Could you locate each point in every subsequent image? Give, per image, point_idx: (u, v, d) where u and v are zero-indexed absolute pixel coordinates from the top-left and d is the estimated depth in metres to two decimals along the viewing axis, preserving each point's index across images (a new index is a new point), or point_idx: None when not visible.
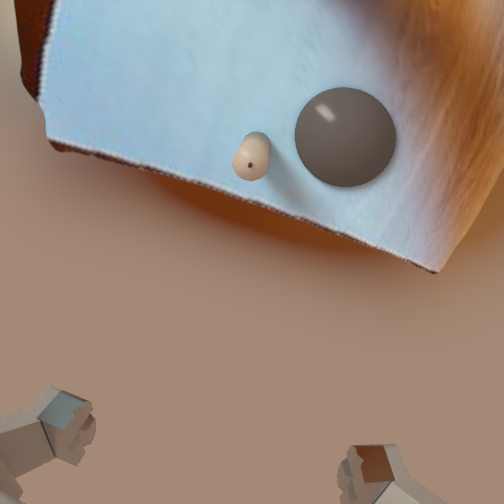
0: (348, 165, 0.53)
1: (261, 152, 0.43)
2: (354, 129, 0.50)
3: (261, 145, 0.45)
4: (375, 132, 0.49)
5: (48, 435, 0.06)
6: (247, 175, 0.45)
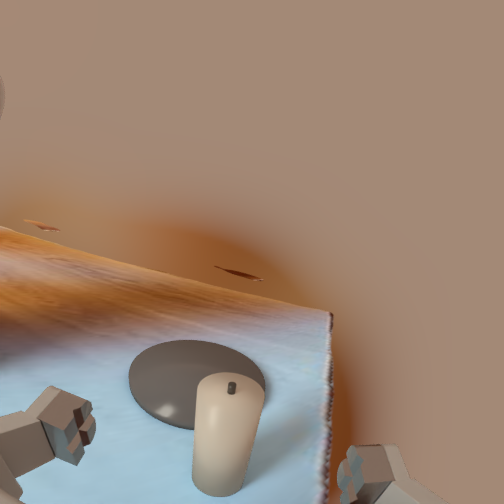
0: None
1: (207, 378, 0.23)
2: (184, 368, 0.40)
3: None
4: (187, 353, 0.44)
5: (48, 435, 0.06)
6: (254, 397, 0.22)
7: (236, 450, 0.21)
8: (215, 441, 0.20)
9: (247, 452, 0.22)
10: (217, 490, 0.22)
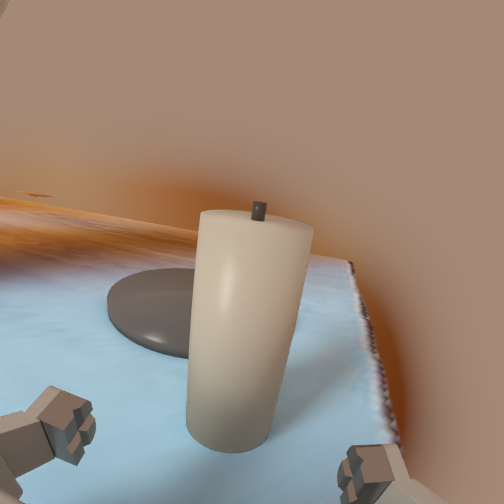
0: None
1: (217, 211, 0.15)
2: (181, 291, 0.32)
3: None
4: (185, 278, 0.36)
5: (48, 435, 0.06)
6: (296, 226, 0.14)
7: (268, 334, 0.13)
8: (228, 310, 0.12)
9: (284, 347, 0.14)
10: (229, 438, 0.14)
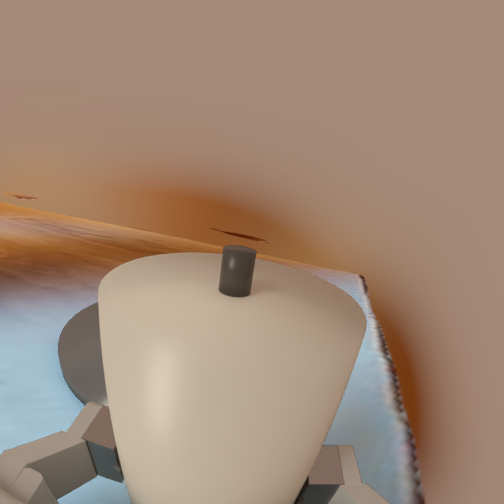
0: None
1: (155, 258, 0.07)
2: None
3: None
4: None
5: (92, 454, 0.06)
6: (326, 308, 0.06)
7: None
8: (170, 492, 0.04)
9: None
10: None
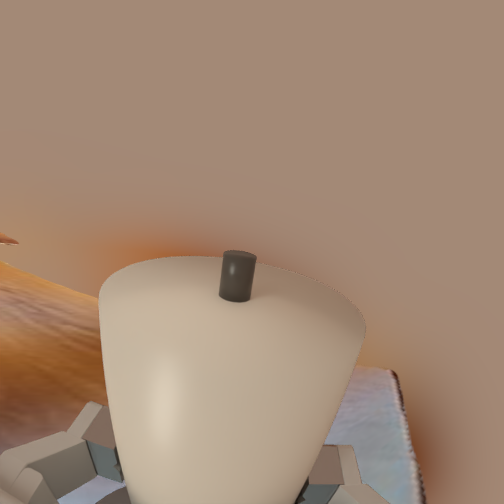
0: None
1: (156, 262, 0.07)
2: None
3: None
4: None
5: (92, 454, 0.06)
6: (326, 312, 0.06)
7: None
8: (171, 494, 0.04)
9: None
10: None
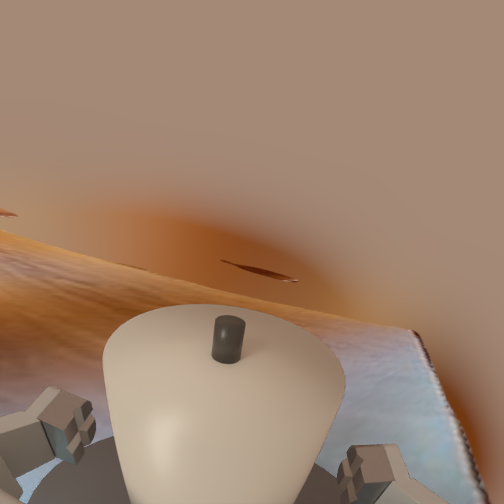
0: None
1: (153, 314, 0.08)
2: None
3: None
4: None
5: (48, 435, 0.06)
6: (309, 372, 0.06)
7: None
8: None
9: None
10: None
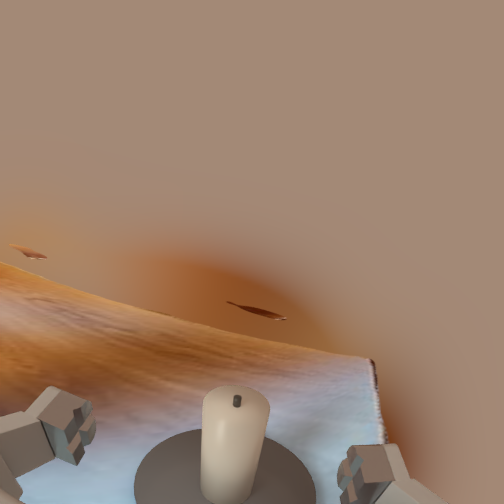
0: (273, 480, 0.26)
1: (212, 391, 0.23)
2: None
3: None
4: None
5: (48, 435, 0.06)
6: (259, 409, 0.22)
7: (243, 461, 0.21)
8: (222, 453, 0.20)
9: (254, 462, 0.22)
10: (226, 500, 0.22)
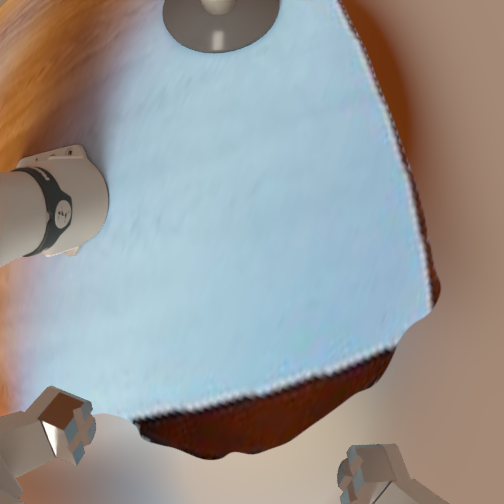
0: None
1: None
2: None
3: None
4: None
5: (48, 435, 0.06)
6: None
7: None
8: None
9: None
10: (227, 8, 0.36)
